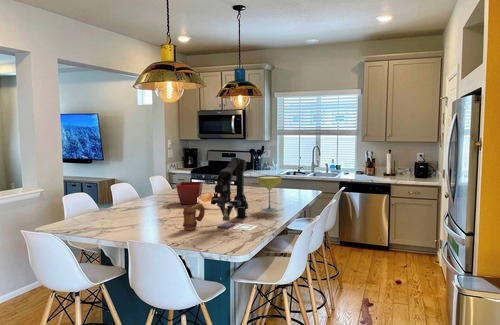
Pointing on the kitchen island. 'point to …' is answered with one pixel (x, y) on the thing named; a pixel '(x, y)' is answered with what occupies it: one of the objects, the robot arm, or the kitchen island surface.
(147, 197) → the kitchen island surface
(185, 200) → the plant pot
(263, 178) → the cocktail glass
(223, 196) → the robot arm
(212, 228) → the kitchen island surface
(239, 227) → the sheet
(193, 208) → the mug
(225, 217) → the stamp
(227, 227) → the ink pad
